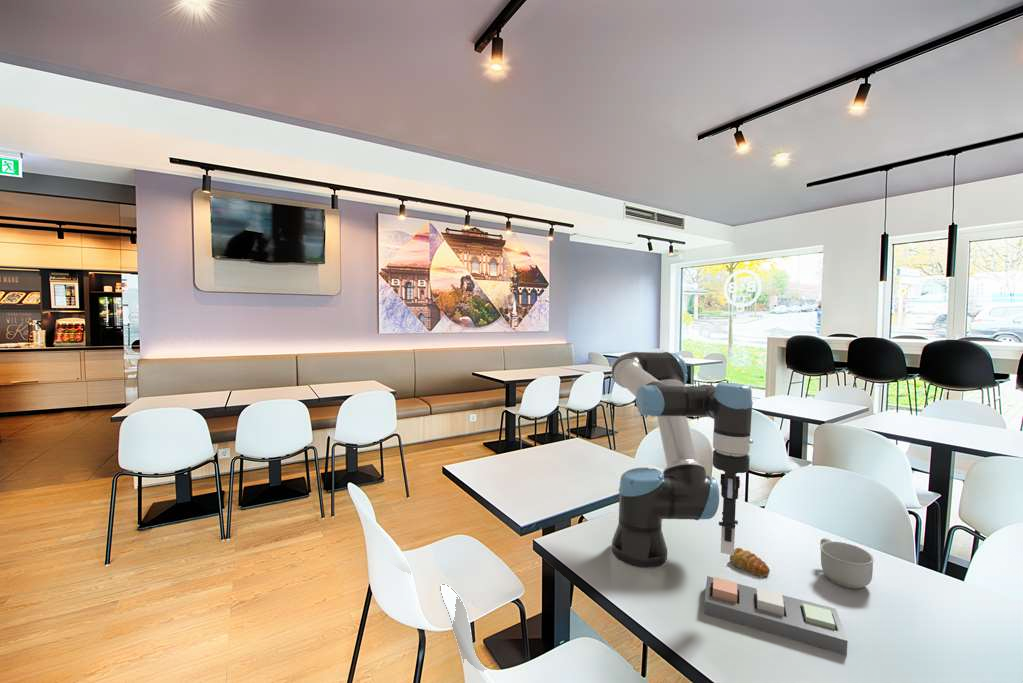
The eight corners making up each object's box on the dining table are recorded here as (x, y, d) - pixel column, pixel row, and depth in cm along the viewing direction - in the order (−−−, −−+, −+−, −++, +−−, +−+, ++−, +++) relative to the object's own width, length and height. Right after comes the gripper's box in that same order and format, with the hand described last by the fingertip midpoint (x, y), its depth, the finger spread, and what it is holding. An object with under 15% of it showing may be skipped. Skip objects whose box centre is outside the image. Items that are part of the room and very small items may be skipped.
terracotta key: (712, 598, 100) (712, 588, 100) (713, 586, 105) (713, 576, 105) (736, 605, 98) (737, 594, 98) (736, 593, 103) (737, 582, 103)
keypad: (704, 613, 99) (704, 601, 98) (706, 587, 108) (707, 575, 108) (846, 655, 87) (847, 640, 87) (835, 621, 97) (835, 608, 97)
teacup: (881, 597, 106) (883, 565, 105) (831, 591, 108) (833, 559, 108) (849, 565, 119) (851, 537, 119) (805, 560, 122) (807, 532, 121)
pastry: (775, 574, 115) (775, 559, 115) (760, 581, 112) (760, 567, 112) (741, 557, 123) (741, 543, 123) (726, 563, 120) (726, 550, 120)
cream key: (757, 610, 96) (757, 599, 96) (756, 598, 101) (756, 587, 101) (783, 618, 94) (784, 606, 94) (781, 604, 99) (782, 594, 99)
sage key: (805, 628, 92) (806, 616, 92) (802, 614, 97) (802, 603, 97) (834, 636, 90) (835, 624, 90) (829, 621, 95) (830, 610, 95)
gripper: (751, 462, 92) (746, 571, 93) (748, 446, 104) (744, 544, 105) (711, 456, 96) (708, 562, 97) (713, 442, 107) (710, 536, 108)
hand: (727, 552), depth 101 cm, fingers closed
